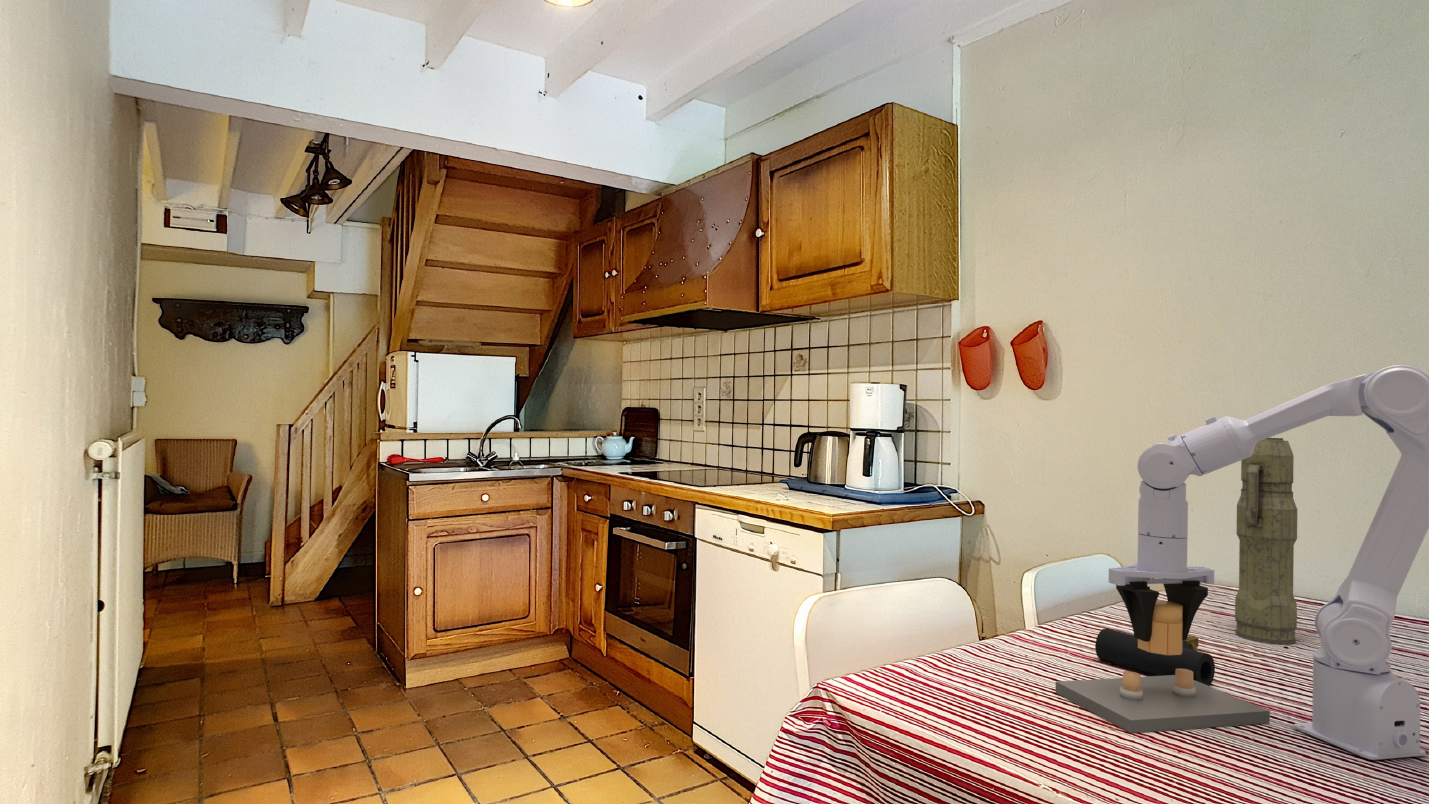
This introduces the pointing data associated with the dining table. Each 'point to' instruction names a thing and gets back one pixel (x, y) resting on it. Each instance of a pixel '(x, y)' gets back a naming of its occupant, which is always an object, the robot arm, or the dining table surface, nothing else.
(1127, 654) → the pipe connector
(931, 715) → the dining table surface
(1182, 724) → the board
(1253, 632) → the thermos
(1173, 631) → the wire cap
